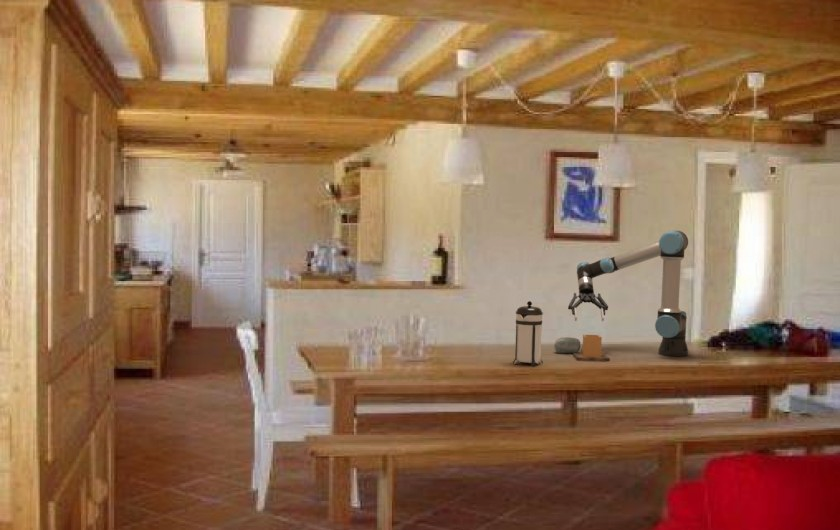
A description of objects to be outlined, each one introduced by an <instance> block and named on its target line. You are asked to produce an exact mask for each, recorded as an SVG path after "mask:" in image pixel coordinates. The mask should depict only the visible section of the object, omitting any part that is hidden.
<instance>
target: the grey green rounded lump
mask: <svg viewBox="0 0 840 530" xmlns="http://www.w3.org/2000/svg"><path fill="white" fill-rule="evenodd" d="M553 348H554V351H555V352H556V353H557V354H574V353H578V352H580V349H581V340H580V339H579V338H576V337H569V336H568V337H560V338H557V339H556V340H555V342H554V347H553Z"/></svg>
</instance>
